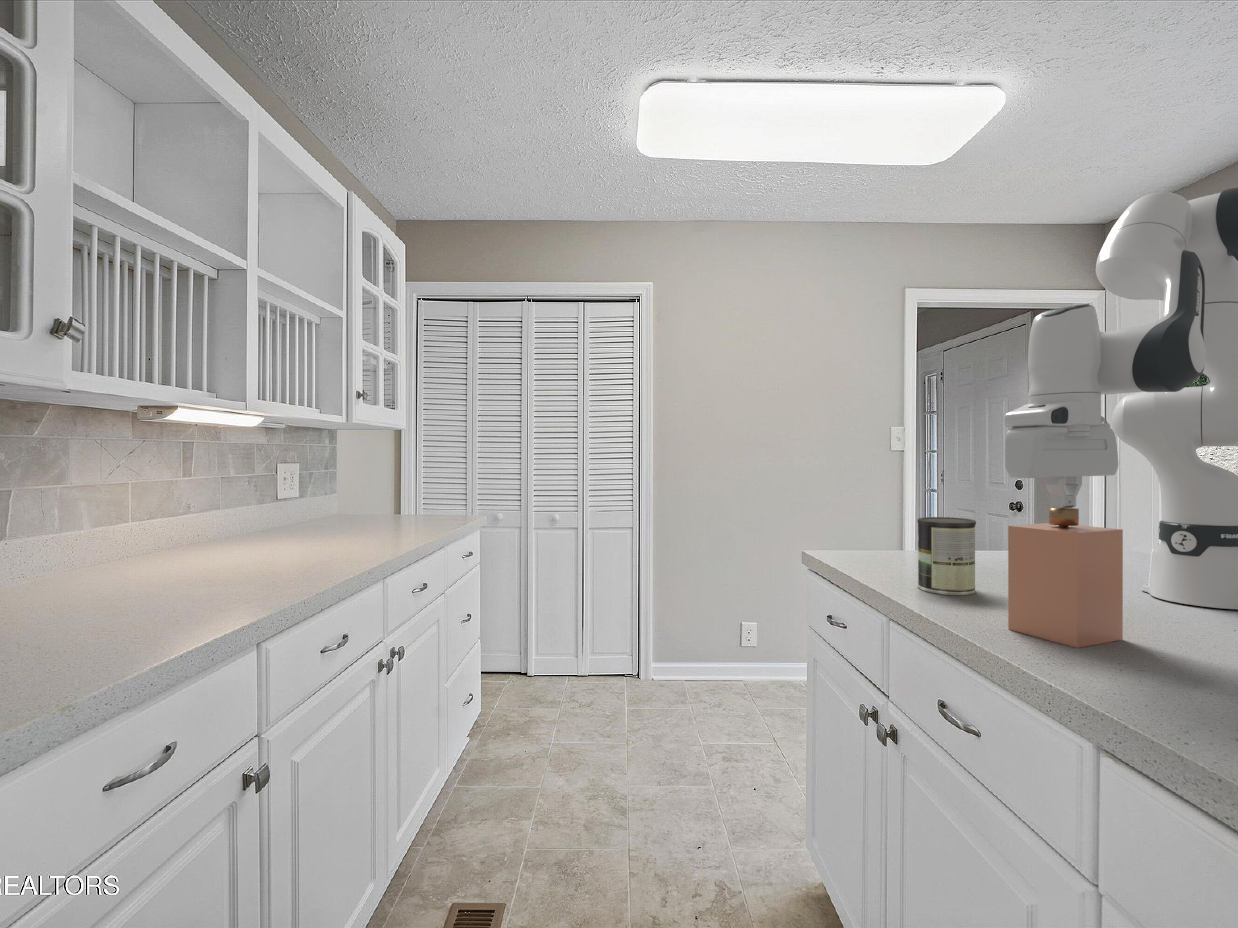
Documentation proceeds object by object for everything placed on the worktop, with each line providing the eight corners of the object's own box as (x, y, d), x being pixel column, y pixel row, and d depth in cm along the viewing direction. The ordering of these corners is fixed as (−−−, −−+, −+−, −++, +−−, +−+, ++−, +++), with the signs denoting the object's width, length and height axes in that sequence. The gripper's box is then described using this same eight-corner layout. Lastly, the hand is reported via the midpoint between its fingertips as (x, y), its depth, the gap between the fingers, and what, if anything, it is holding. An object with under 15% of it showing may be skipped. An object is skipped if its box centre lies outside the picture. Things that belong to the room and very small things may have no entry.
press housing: (1052, 622, 98) (1052, 522, 98) (1122, 639, 89) (1122, 529, 88) (1008, 629, 94) (1008, 525, 94) (1077, 647, 85) (1077, 533, 85)
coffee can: (906, 588, 124) (906, 518, 124) (936, 582, 129) (936, 515, 129) (957, 598, 115) (956, 523, 115) (986, 591, 120) (986, 520, 120)
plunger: (1054, 587, 96) (1054, 505, 96) (1109, 598, 89) (1109, 509, 89) (1020, 592, 94) (1020, 507, 93) (1073, 603, 86) (1073, 511, 86)
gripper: (1086, 417, 98) (1086, 503, 98) (995, 415, 90) (996, 508, 90) (1131, 414, 92) (1131, 506, 92) (1038, 412, 84) (1038, 512, 85)
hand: (1063, 507), depth 91 cm, fingers closed
